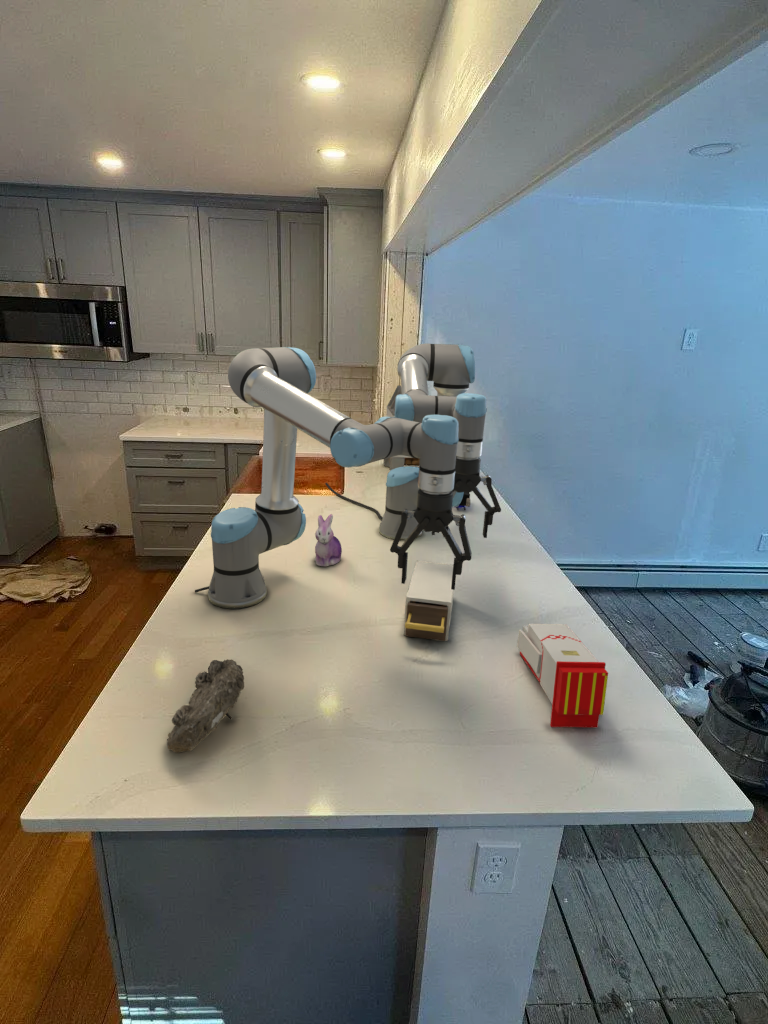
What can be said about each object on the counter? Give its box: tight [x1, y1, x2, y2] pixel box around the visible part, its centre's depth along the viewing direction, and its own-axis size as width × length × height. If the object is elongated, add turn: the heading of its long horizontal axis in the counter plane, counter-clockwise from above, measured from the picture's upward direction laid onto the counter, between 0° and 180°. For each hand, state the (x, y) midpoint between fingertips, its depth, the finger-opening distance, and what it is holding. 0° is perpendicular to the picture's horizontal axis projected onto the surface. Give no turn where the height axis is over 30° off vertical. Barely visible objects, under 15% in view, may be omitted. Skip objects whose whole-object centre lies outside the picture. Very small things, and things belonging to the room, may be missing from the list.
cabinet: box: [403, 560, 455, 642], centre depth 145 cm, size 21×11×10 cm, turn 170°
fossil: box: [166, 658, 245, 754], centre depth 106 cm, size 22×10×15 cm
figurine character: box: [455, 492, 471, 512], centre depth 229 cm, size 7×8×15 cm
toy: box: [516, 623, 609, 728], centre depth 121 cm, size 12×13×30 cm
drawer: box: [404, 601, 448, 642], centre depth 140 cm, size 26×10×8 cm, turn 170°
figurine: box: [314, 513, 343, 567], centre depth 173 cm, size 9×10×15 cm
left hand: (428, 583), depth 127 cm, fingers open, 10 cm apart
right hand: (458, 534), depth 150 cm, fingers open, 13 cm apart
